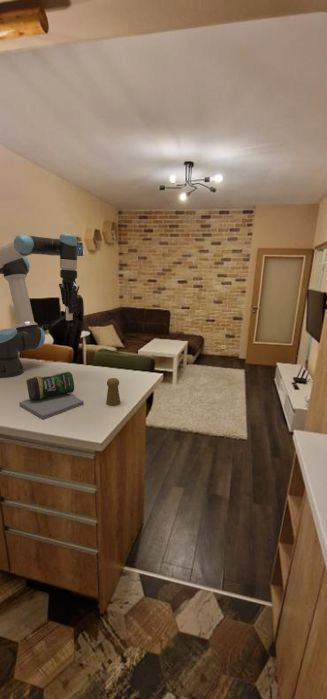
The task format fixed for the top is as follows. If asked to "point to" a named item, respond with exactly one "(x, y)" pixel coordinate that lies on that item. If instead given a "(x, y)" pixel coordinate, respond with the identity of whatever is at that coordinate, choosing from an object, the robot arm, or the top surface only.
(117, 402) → the cork
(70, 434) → the top surface
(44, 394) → the coffee jar
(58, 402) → the mat
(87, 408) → the top surface
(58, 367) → the top surface
